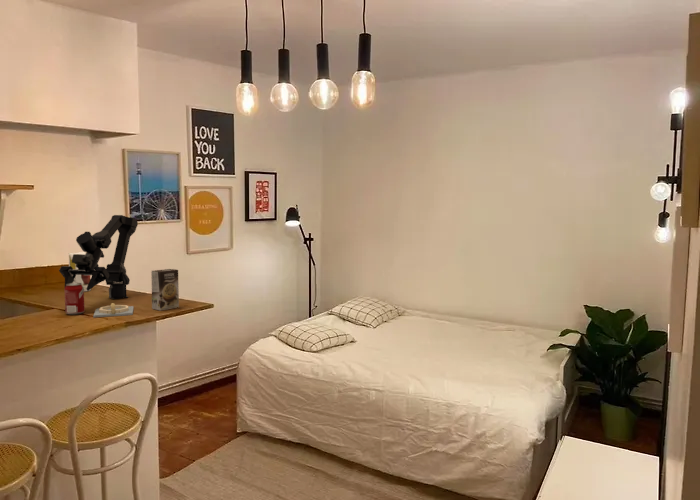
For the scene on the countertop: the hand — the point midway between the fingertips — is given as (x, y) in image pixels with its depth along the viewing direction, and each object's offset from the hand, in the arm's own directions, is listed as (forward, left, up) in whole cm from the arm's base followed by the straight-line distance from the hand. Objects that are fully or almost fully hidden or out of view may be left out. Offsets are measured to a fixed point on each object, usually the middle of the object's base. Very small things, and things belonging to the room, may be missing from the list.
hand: (76, 289), depth 210 cm
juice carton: (-17, -51, -10) cm, 55 cm away
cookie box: (-30, +15, -10) cm, 35 cm away
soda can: (+1, +1, -10) cm, 10 cm away
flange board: (-11, +10, -9) cm, 17 cm away
